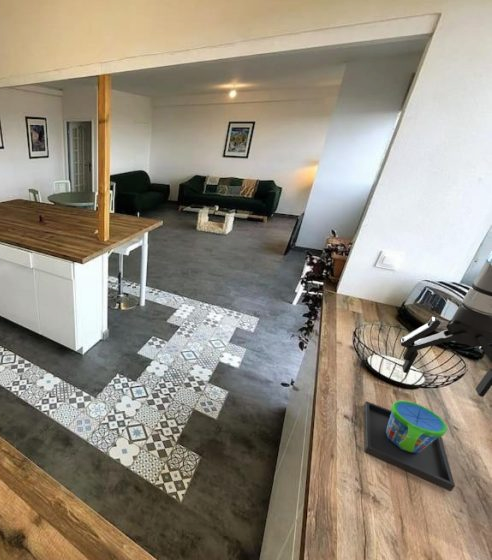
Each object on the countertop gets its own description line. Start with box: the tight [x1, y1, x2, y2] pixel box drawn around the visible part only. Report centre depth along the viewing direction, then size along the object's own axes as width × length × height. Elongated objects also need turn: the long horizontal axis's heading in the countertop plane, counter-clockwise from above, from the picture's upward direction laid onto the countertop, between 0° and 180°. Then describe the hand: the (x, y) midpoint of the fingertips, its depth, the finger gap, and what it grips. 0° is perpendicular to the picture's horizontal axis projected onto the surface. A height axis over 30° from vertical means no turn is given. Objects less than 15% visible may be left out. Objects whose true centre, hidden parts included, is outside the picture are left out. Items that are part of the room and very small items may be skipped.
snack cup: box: [386, 400, 448, 453], centre depth 83 cm, size 16×11×10 cm
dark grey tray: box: [362, 400, 456, 492], centre depth 85 cm, size 17×20×2 cm
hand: (440, 381), depth 78 cm, fingers open, 13 cm apart
